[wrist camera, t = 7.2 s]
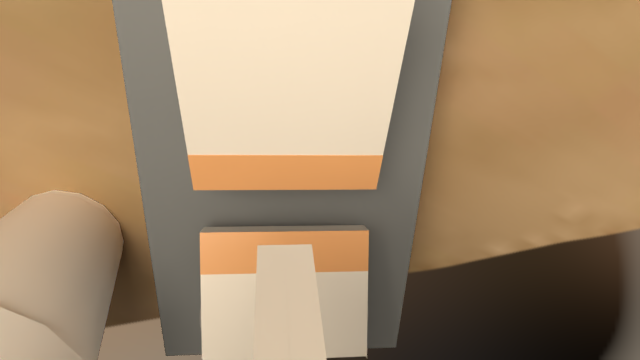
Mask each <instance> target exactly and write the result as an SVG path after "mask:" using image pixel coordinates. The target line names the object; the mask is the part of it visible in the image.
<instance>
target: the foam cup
mask: <svg viewBox="0 0 640 360" xmlns="http://www.w3.org/2000/svg"><path fill="white" fill-rule="evenodd" d="M123 244H124V240H123V236H122V232H121V228H120V224H119V222H118V221H117V220H116V219H115V218H114V216H113V215H112V214H111V213H110V212H109V211H108V210H107V208H106V207H105V206H104V205H102V204H100V203H98V202H96V201H94V200H93V199H91V198H89V197H87V196H85V195H83V194H81V193H74V192H67V191H59V190H52V191H48V192H44V193H41V194H37V195H33V196H31V197H29V198H28V199H27V200H25V201H23V202H22V203H21V204H19V205H18V206H17V207H15V208H14V209H13V210H11V211H10V212H9V213H7V214H6V215H5V216H3V217H2V218H1V219H0V360H97V359H98V355H99V351H100V346H101V342H102V338H103V333H104V329H105V325H106V320H107V316H108V312H109V307H110V303H111V298H112V294H113V290H114V285H115V281H116V277H117V272H118V268H119V264H120V259H121V255H122V251H123V248H122V247H123Z"/></svg>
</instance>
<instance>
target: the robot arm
mask: <svg viewBox="0 0 640 360" xmlns="http://www.w3.org/2000/svg"><path fill="white" fill-rule="evenodd" d="M253 360H368V359H367V358H366V356H361V357H337V358H326V351H325V343H324V335H323V328H322V320H321V312H320V304H319V296H318V289H317V281H316V273H315V265H314V257H313V249H312V244H298V245H257V269H256V294H255V319H254V344H253Z"/></svg>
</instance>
